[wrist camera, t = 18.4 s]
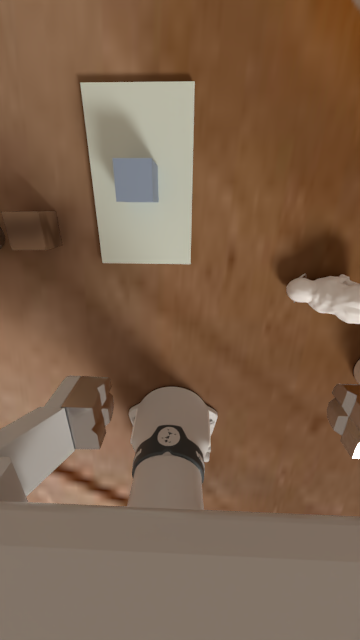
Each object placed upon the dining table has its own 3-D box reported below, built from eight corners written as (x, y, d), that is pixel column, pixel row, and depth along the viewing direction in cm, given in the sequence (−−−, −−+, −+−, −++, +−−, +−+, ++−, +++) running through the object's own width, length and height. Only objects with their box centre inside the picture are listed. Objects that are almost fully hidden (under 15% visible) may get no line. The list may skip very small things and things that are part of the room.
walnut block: (62, 245, 40) (46, 250, 35) (32, 245, 40) (11, 250, 35) (56, 210, 38) (37, 211, 33) (23, 211, 38) (1, 211, 33)
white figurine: (376, 335, 35) (290, 319, 35) (347, 312, 42) (276, 299, 43) (400, 292, 32) (305, 276, 33) (364, 276, 40) (288, 263, 41)
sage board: (190, 262, 40) (190, 264, 39) (104, 261, 41) (102, 262, 40) (194, 85, 31) (194, 81, 30) (83, 86, 31) (80, 82, 31)
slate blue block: (158, 202, 36) (153, 201, 30) (127, 202, 36) (116, 201, 30) (157, 165, 34) (151, 158, 28) (124, 165, 34) (112, 158, 29)
